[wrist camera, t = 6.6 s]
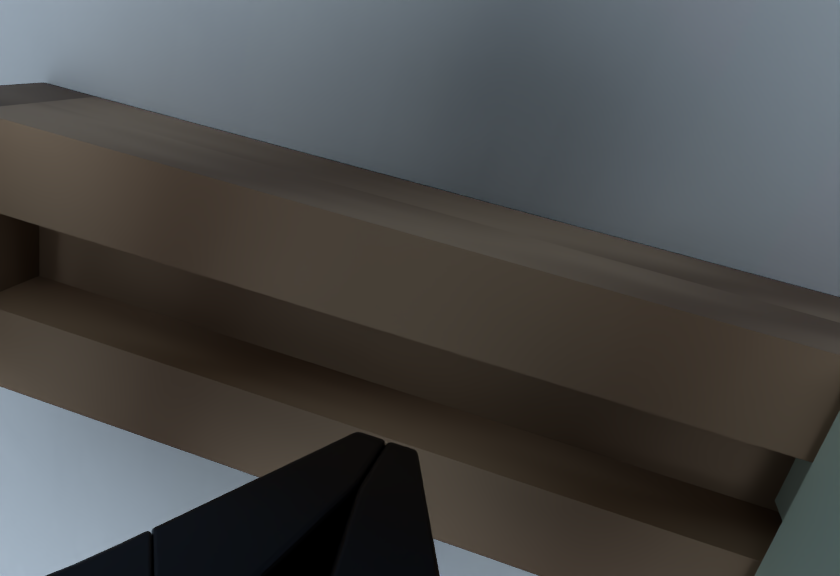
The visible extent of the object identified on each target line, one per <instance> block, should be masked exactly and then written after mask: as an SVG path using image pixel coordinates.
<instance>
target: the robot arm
mask: <svg viewBox="0 0 840 576" xmlns="http://www.w3.org/2000/svg"><path fill="white" fill-rule="evenodd" d="M46 576H440V575H439V570H438V564H437V558H436V553H435V547H434V541H433V536H432V530H431V524H430V519H429V513H428V507H427V502H426V496H425V490H424V484H423V479H422V473H421V467H420V462H419V456H418V453H417V451H416V450H414V449H412V448H409V447H406V446H402V445H399V444H396V443H393V442H390V443H387V444H385V441H384V440H383V439H380V438H377V437H374V436H371V435H368V434H365V433H362V432H355V433H352V434H350V435H348V436H346V437H344V438H342V439H340V440H337V441H335V442H333V443H331V444H329V445H327V446H325V447H323V448H321V449H319V450H316V451H314V452H312V453H310V454H308V455H306V456H304V457H302V458H300V459H298V460H295V461H293V462H291V463H289V464H287V465H285V466H283V467H281V468H279V469H277V470H274V471H272V472H270V473H268V474H266V475H264V476H262V477H260V478H258V479H256V480H253V481H251V482H249V483H247V484H245V485H243V486H241V487H239V488H237V489H235V490H232V491H230V492H228V493H226V494H224V495H222V496H220V497H218V498H216V499H214V500H211V501H209V502H207V503H205V504H203V505H201V506H199V507H197V508H195V509H193V510H190V511H188V512H186V513H184V514H182V515H180V516H178V517H176V518H174V519H172V520H169V521H167V522H165V523H163V524H161V525H159V526H157V527H155V528H153V529H152V533H151V532H149V531H146V532H144V533H142V534H140V535H137V536H135V537H133V538H131V539H129V540H127V541H125V542H123V543H121V544H118V545H116V546H114V547H112V548H110V549H107V550H105V551H103V552H101V553H98V554H96V555H94V556H92V557H89V558H87V559H85V560H83V561H80V562H78V563H76V564H74V565H71V566H69V567H66V568H64V569H61V570H59V571H56V572H54V573H51V574H48V575H46Z"/></svg>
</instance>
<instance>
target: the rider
mask: <svg viewBox="0 0 840 576" xmlns="http://www.w3.org/2000/svg"><path fill="white" fill-rule="evenodd" d="M775 503H776V506H777V508H778V511H779V513H780V516H781V519H782V523H781V525H780V527H779V529H778V531H777V533H776V535H775V537H774V539H773V541H772V543H771V545H770V547H769V549H768V550H767V552H766V554H765V556H764V558H763V560H762V562H761V564H760V566H759V568H758V570H757V572H756V574H755V576H840V411H839V413H838V414H837V416H836V418H835V420H834V422H833V424H832V426H831V428H830V430H829V432H828V434H827V436H826V438H825V440H824V442H823V444H822V446H821V448H820V449H819V451H818V453H817V455H816V457H815V459H814V461H813V463H812V462H809V461H805V460H802V459H799V458H796V459H795V461H794V463H793V465H792V467H791V469H790V471H789V473H788V475H787V477H786V479H785V481H784V483H783V485H782V487H781V489H780V491H779V493H778V495H777V497H776V499H775Z"/></svg>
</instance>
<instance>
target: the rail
mask: <svg viewBox="0 0 840 576" xmlns="http://www.w3.org/2000/svg"><path fill="white" fill-rule="evenodd" d="M0 386H1V387H4V388H6V389H9V390H12V391H15V392H18V393H21V394H23V395H26V396H29V397H32V398H35V399H38V400H41V401H43V402H46V403H49V404H52V405H55V406H58V407H60V408H63V409H66V410H69V411H72V412H75V413H78V414H80V415H83V416H86V417H89V418H92V419H95V420H97V421H100V422H103V423H106V424H109V425H112V426H115V427H117V428H120V429H123V430H126V431H129V432H132V433H134V434H137V435H140V436H143V437H146V438H149V439H152V440H154V441H157V442H160V443H163V444H166V445H169V446H171V447H174V448H177V449H180V450H183V451H186V452H189V453H191V454H194V455H197V456H200V457H203V458H206V459H209V460H211V461H214V462H217V463H220V464H223V465H226V466H228V467H231V468H234V469H237V470H240V471H243V472H246V473H248V474H251V475H254V476H257V477H262V476H264V475H266V474H268V473H270V472H272V471H274V470H277V469H279V468H281V467H283V466H285V465H287V464H289V463H291V462H293V461H295V460H298V459H300V458H302V457H304V456H306V455H308V454H310V453H312V452H314V451H316V450H319V449H321V448H323V447H325V446H327V445H329V444H331V443H333V442H335V441H337V440H340V439H342V438H344V437H346V436H348V435H350V434H352V433H355V432H362V433H365V434H368V435H371V436H374V437H377V438H380V439H383V440H384V441H385V444H387V443H390V442H393V443H396V444H399V445H402V446H406V447H409V448H412V449H414V450H416V451H417V453H418V456H419V462H420V467H421V473H422V479H423V484H424V490H425V496H426V502H427V507H428V513H429V519H430V524H431V530H432V536H433V539H436V540H439V541H442V542H445V543H448V544H451V545H453V546H456V547H459V548H462V549H465V550H468V551H470V552H473V553H476V554H479V555H482V556H485V557H488V558H490V559H493V560H496V561H499V562H502V563H505V564H507V565H510V566H513V567H516V568H519V569H522V570H525V571H527V572H530V573H533V574H536V575H539V576H755V574H756V572H757V570H758V568H759V566H760V564H761V562H762V560H763V558H764V556H765V554H766V552H767V550H768V549H769V547H770V545H771V543H772V541H773V539H774V537H775V535H776V533H777V531H778V529H779V527H780V525H781V523H782V519H781V516H780V513H779V511H778V508H777V506H776V503H775V499H776V497H777V495H778V493H779V491H780V489H781V487H782V485H783V483H784V481H785V479H786V477H787V475H788V473H789V471H790V469H791V467H792V465H793V463H794V461H795V459H796V458H799V459H802V460H805V461H809V462H812V463H813V461H814V459H815V457H816V455H817V453H818V451H819V449H820V448H821V446H822V444H823V442H824V440H825V438H826V436H827V434H828V432H829V430H830V428H831V426H832V424H833V422H834V420H835V418H836V416H837V414H838V413H839V411H840V297H836V296H832V295H829V294H825V293H821V292H817V291H814V290H810V289H806V288H803V287H799V286H795V285H791V284H788V283H784V282H780V281H777V280H773V279H769V278H766V277H762V276H758V275H754V274H751V273H747V272H743V271H740V270H736V269H732V268H729V267H725V266H721V265H717V264H714V263H710V262H706V261H703V260H699V259H695V258H691V257H688V256H684V255H680V254H677V253H673V252H669V251H666V250H662V249H658V248H654V247H651V246H647V245H643V244H640V243H636V242H632V241H628V240H625V239H621V238H617V237H614V236H610V235H606V234H603V233H599V232H595V231H591V230H588V229H584V228H580V227H577V226H573V225H569V224H566V223H562V222H558V221H554V220H551V219H547V218H543V217H540V216H536V215H532V214H528V213H525V212H521V211H517V210H514V209H510V208H506V207H503V206H499V205H495V204H491V203H488V202H484V201H480V200H477V199H473V198H469V197H465V196H462V195H458V194H454V193H451V192H447V191H443V190H440V189H436V188H432V187H428V186H425V185H421V184H417V183H414V182H410V181H406V180H403V179H399V178H395V177H391V176H388V175H384V174H380V173H377V172H373V171H369V170H365V169H362V168H358V167H354V166H351V165H347V164H343V163H340V162H336V161H332V160H328V159H325V158H321V157H317V156H314V155H310V154H306V153H303V152H299V151H295V150H291V149H288V148H284V147H280V146H277V145H273V144H269V143H265V142H262V141H258V140H254V139H251V138H247V137H243V136H240V135H236V134H232V133H228V132H225V131H221V130H217V129H214V128H210V127H206V126H202V125H199V124H195V123H191V122H188V121H184V120H180V119H177V118H173V117H169V116H165V115H162V114H158V113H154V112H151V111H147V110H143V109H140V108H136V107H132V106H128V105H125V104H121V103H117V102H114V101H110V100H106V99H102V98H99V97H95V96H91V95H88V94H84V93H80V92H77V91H73V90H69V89H65V88H62V87H58V86H54V85H51V84H47V83H30V84H15V85H0Z"/></svg>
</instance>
